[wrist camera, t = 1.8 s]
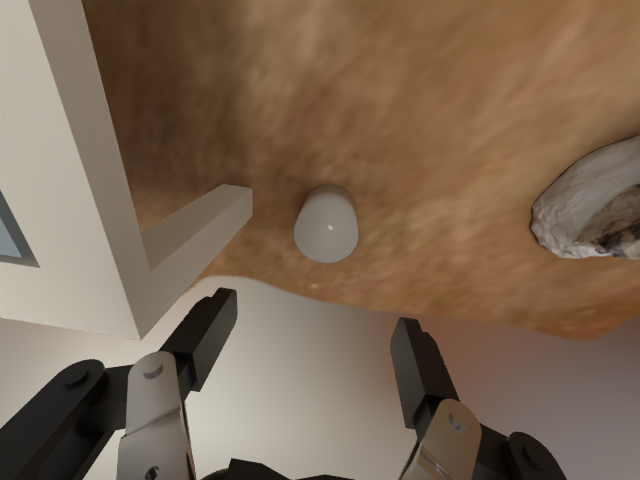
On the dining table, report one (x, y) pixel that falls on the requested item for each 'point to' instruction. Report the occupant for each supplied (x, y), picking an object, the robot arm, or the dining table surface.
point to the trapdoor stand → (86, 190)
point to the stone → (594, 205)
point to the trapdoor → (11, 233)
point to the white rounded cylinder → (327, 224)
